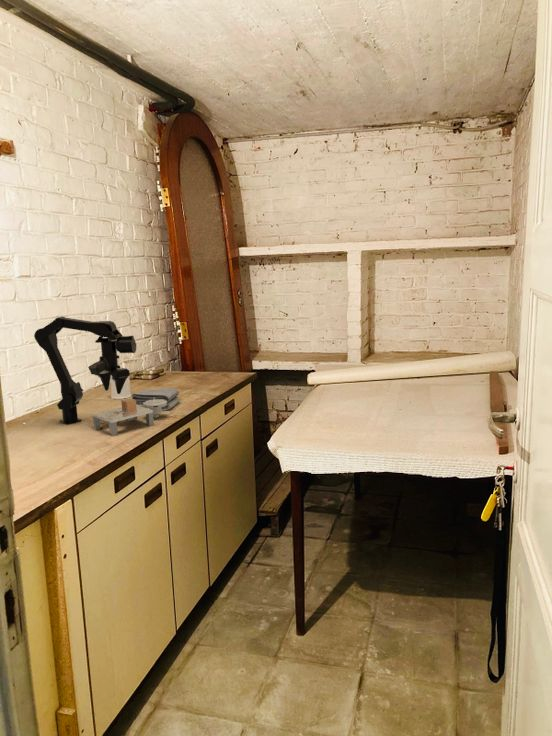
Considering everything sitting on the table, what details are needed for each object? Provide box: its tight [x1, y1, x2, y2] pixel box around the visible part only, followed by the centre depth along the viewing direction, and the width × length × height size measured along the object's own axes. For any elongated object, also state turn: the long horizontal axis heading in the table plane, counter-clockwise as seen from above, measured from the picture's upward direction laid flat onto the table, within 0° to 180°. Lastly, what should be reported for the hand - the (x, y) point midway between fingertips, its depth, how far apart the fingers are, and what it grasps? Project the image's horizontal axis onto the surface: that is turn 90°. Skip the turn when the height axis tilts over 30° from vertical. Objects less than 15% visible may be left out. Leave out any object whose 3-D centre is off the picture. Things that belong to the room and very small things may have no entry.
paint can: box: [109, 355, 132, 400], centre depth 267 cm, size 10×9×20 cm
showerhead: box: [143, 398, 167, 419], centre depth 232 cm, size 9×7×10 cm
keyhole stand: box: [92, 405, 155, 437], centre depth 220 cm, size 14×18×6 cm
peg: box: [120, 398, 138, 422], centre depth 221 cm, size 4×4×8 cm
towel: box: [131, 387, 180, 412], centre depth 249 cm, size 15×18×8 cm
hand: (112, 392), depth 226 cm, fingers open, 9 cm apart
